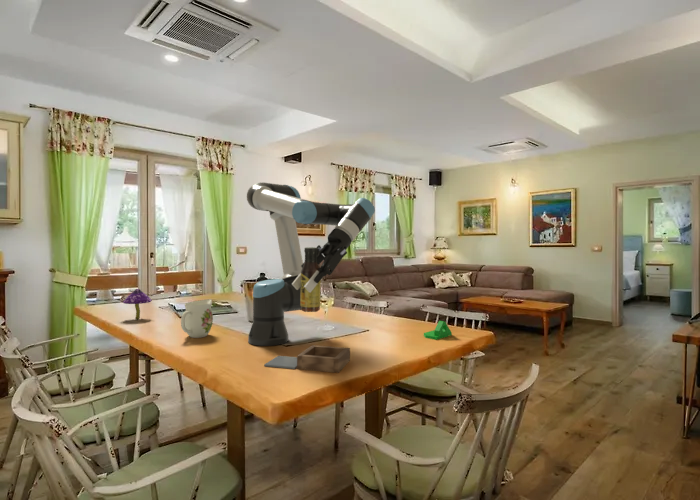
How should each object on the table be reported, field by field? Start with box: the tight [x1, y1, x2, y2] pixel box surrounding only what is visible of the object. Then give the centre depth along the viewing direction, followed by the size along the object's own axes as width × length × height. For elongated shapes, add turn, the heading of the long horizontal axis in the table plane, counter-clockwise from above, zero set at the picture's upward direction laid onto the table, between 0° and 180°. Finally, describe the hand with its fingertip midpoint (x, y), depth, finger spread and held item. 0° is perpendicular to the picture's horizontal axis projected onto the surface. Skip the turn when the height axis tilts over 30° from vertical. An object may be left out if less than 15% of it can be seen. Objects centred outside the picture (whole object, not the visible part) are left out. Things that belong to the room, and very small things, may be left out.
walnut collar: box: [296, 344, 351, 374], centre depth 126 cm, size 13×13×4 cm
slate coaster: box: [264, 355, 297, 370], centre depth 127 cm, size 10×10×1 cm
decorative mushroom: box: [122, 288, 152, 320], centre depth 195 cm, size 12×12×15 cm
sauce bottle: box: [300, 246, 322, 313], centre depth 125 cm, size 6×6×20 cm
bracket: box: [423, 320, 453, 341], centre depth 166 cm, size 12×8×7 cm, turn 136°
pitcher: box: [180, 298, 214, 339], centre depth 162 cm, size 11×18×14 cm, turn 164°
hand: (300, 288), depth 123 cm, fingers closed on sauce bottle, 6 cm apart
